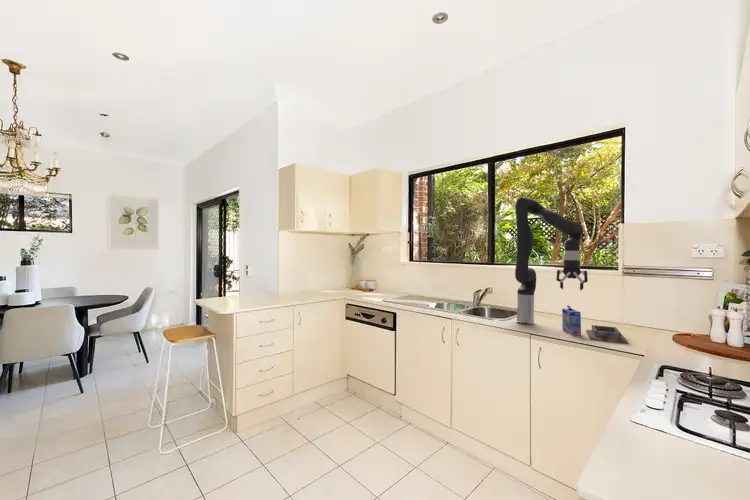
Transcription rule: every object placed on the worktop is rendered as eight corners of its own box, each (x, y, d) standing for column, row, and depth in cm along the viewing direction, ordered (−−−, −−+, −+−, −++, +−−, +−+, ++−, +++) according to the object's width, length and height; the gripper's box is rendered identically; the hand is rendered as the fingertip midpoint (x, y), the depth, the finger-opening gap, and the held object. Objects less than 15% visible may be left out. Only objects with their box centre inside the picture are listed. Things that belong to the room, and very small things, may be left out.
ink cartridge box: (561, 330, 183) (561, 304, 183) (572, 330, 183) (572, 304, 183) (570, 335, 174) (570, 307, 174) (581, 335, 173) (581, 307, 173)
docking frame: (590, 339, 165) (590, 331, 165) (586, 331, 181) (586, 323, 181) (627, 343, 158) (627, 335, 158) (620, 335, 174) (620, 327, 174)
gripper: (556, 259, 178) (556, 289, 178) (588, 259, 171) (588, 291, 172) (556, 258, 185) (556, 288, 185) (586, 259, 178) (586, 289, 178)
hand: (571, 289), depth 178 cm, fingers open, 8 cm apart
